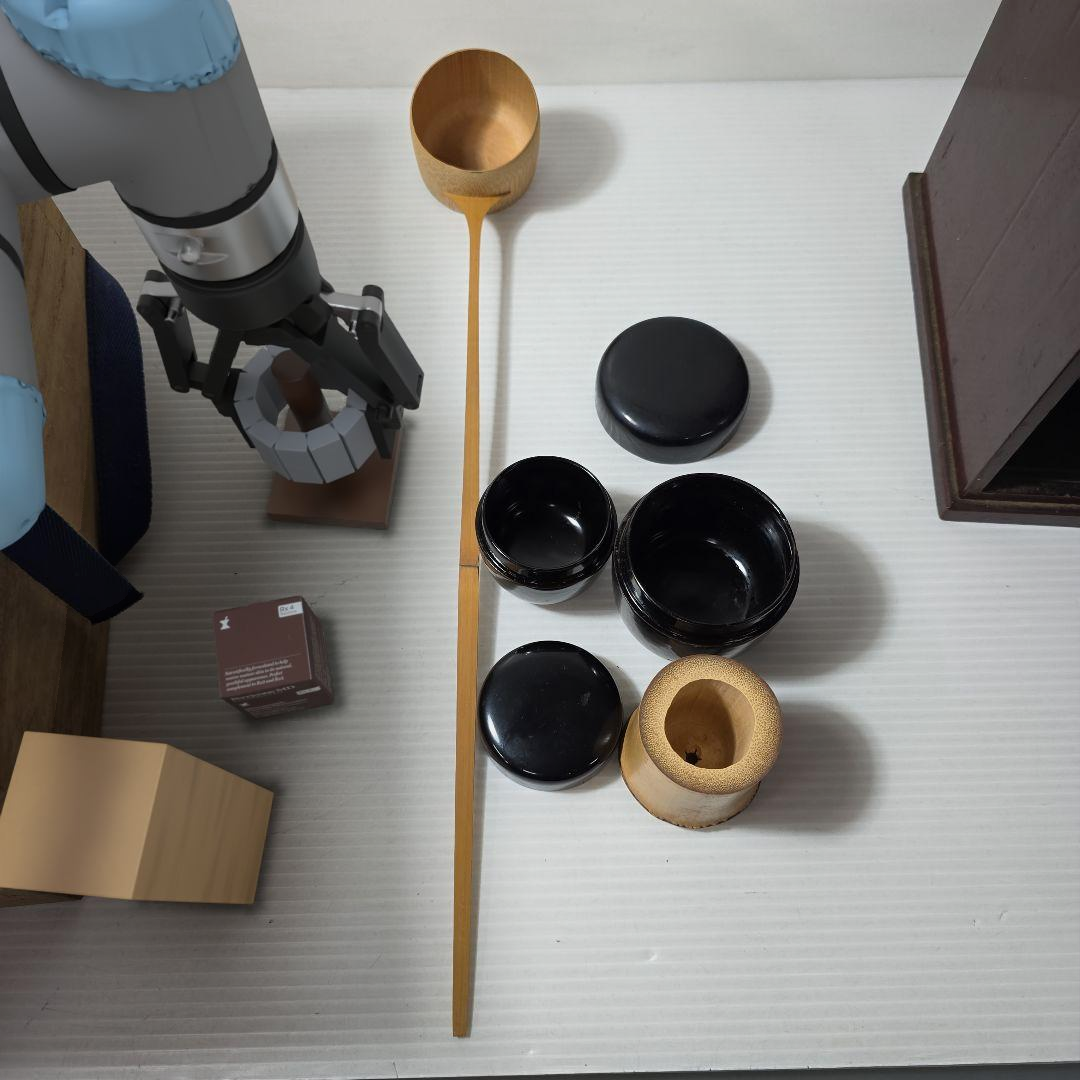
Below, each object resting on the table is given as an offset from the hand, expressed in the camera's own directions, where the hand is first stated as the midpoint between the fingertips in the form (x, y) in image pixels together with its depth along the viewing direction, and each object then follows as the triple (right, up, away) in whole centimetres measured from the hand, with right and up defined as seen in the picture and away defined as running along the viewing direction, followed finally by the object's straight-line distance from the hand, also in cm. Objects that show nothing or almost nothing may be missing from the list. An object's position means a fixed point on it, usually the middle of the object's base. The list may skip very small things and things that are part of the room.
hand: (323, 437), depth 69 cm
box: (-2, -17, 0) cm, 17 cm away
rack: (0, -2, +5) cm, 6 cm away
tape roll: (0, +1, -1) cm, 2 cm away
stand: (-7, -28, -5) cm, 29 cm away
